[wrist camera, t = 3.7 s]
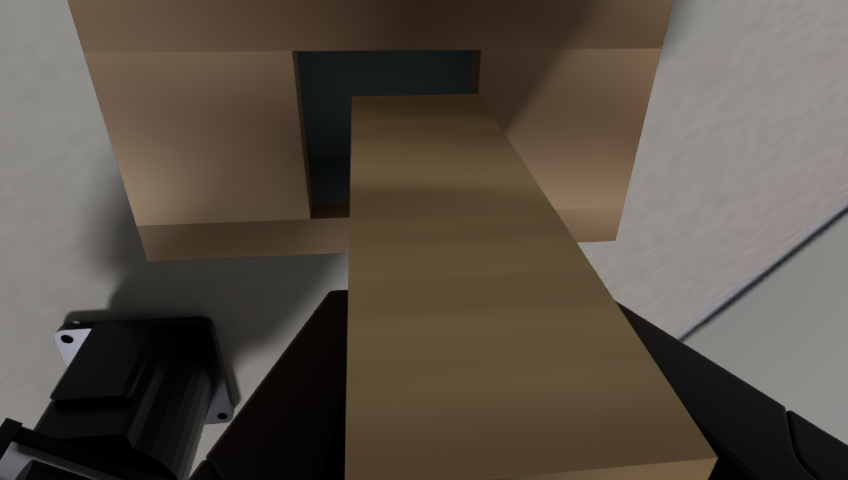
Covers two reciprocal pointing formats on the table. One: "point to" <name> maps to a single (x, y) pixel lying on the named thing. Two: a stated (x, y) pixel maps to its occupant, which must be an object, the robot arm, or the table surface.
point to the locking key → (486, 319)
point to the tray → (364, 76)
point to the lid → (283, 113)
